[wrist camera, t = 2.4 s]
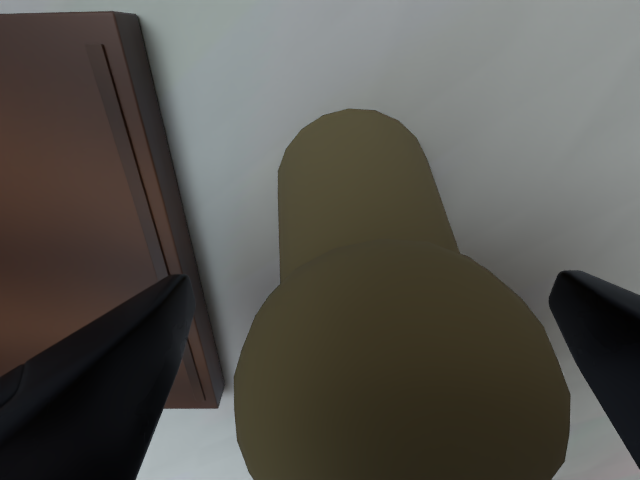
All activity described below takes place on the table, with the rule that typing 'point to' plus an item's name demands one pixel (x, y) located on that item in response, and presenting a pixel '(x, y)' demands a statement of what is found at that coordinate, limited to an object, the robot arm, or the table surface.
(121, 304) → the robot arm
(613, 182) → the table surface
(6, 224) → the walnut board
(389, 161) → the olive yellow pawn
